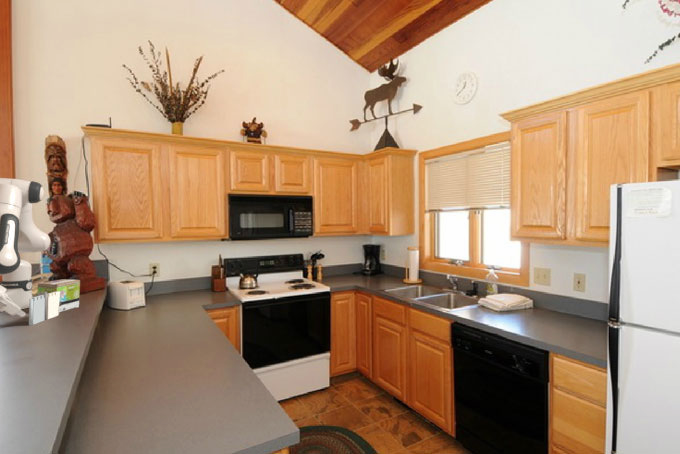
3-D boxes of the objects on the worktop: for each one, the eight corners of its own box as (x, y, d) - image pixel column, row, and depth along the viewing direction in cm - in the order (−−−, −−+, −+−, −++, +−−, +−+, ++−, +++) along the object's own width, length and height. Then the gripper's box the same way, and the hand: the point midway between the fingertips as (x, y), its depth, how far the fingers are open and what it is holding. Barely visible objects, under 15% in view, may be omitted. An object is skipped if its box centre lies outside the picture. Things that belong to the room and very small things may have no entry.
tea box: (56, 314, 170) (56, 283, 170) (35, 313, 170) (36, 283, 170) (79, 307, 185) (80, 279, 185) (61, 306, 185) (61, 278, 185)
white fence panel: (42, 320, 157) (42, 292, 157) (56, 315, 167) (57, 288, 167) (45, 320, 158) (45, 292, 158) (59, 315, 167) (60, 288, 167)
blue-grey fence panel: (41, 320, 157) (42, 294, 157) (44, 320, 157) (44, 294, 157) (28, 325, 149) (28, 298, 149) (31, 325, 149) (31, 298, 149)
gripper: (3, 292, 137) (36, 313, 145) (-4, 285, 150) (26, 305, 158) (-13, 305, 134) (21, 326, 141) (-19, 297, 147) (12, 316, 154)
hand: (23, 315), depth 150 cm, fingers closed
